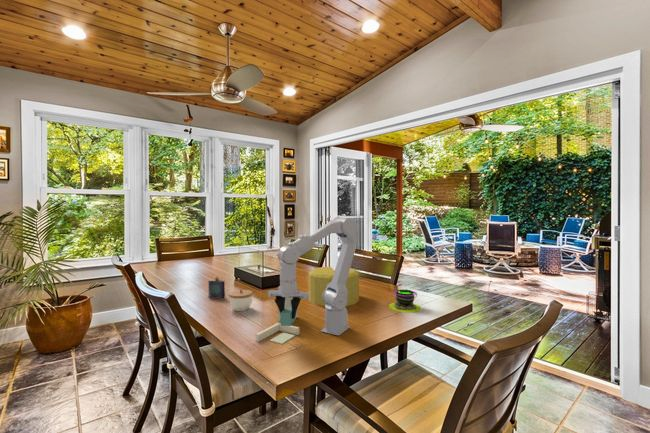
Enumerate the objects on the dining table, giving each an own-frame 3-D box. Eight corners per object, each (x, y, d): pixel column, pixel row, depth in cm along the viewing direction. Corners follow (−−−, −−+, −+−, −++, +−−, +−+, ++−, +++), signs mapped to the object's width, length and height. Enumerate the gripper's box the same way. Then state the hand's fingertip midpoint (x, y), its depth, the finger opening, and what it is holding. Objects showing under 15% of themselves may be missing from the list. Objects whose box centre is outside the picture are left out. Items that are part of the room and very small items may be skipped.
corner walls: (277, 328, 127) (277, 322, 127) (299, 333, 122) (299, 327, 122) (255, 340, 116) (255, 333, 116) (278, 347, 111) (278, 339, 111)
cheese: (343, 290, 185) (343, 264, 184) (368, 302, 161) (369, 272, 161) (301, 295, 174) (301, 268, 173) (321, 310, 150) (321, 278, 150)
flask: (207, 297, 170) (207, 277, 170) (210, 295, 173) (210, 276, 173) (223, 298, 168) (223, 278, 168) (226, 297, 171) (226, 277, 170)
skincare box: (290, 323, 133) (290, 287, 132) (277, 322, 135) (277, 286, 134) (298, 316, 141) (298, 283, 140) (285, 315, 143) (285, 282, 142)
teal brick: (286, 319, 119) (286, 307, 119) (295, 320, 118) (295, 308, 118) (280, 325, 113) (280, 312, 113) (290, 326, 113) (290, 313, 112)
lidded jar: (257, 307, 153) (257, 288, 153) (241, 314, 144) (241, 293, 143) (240, 304, 158) (240, 285, 158) (224, 310, 149) (223, 290, 149)
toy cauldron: (395, 313, 146) (395, 289, 145) (384, 303, 161) (384, 281, 160) (426, 311, 148) (427, 288, 147) (413, 302, 163) (413, 280, 162)
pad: (283, 333, 123) (283, 332, 123) (295, 336, 120) (295, 335, 120) (269, 340, 116) (269, 340, 116) (282, 344, 113) (281, 343, 113)
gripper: (264, 281, 113) (264, 319, 114) (304, 283, 110) (304, 322, 111) (272, 277, 120) (272, 313, 121) (309, 278, 117) (309, 316, 117)
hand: (288, 317), depth 116 cm, fingers closed on teal brick, 3 cm apart
